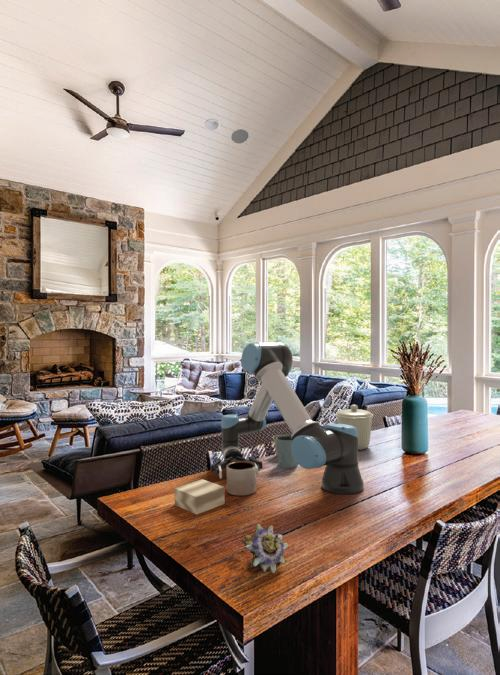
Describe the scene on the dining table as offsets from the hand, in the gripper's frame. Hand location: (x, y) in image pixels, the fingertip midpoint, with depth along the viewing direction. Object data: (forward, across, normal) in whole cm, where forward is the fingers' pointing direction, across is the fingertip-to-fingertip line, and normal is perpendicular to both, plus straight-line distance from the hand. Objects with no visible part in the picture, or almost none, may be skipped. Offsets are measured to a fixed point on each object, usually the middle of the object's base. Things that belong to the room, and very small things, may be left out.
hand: (239, 473), depth 164 cm
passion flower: (+54, 0, -6) cm, 54 cm away
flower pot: (-39, -25, -6) cm, 47 cm away
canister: (-44, -62, -6) cm, 77 cm away
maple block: (+11, +15, -6) cm, 20 cm away
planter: (+2, 0, -6) cm, 7 cm away
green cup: (-24, -24, -6) cm, 35 cm away
